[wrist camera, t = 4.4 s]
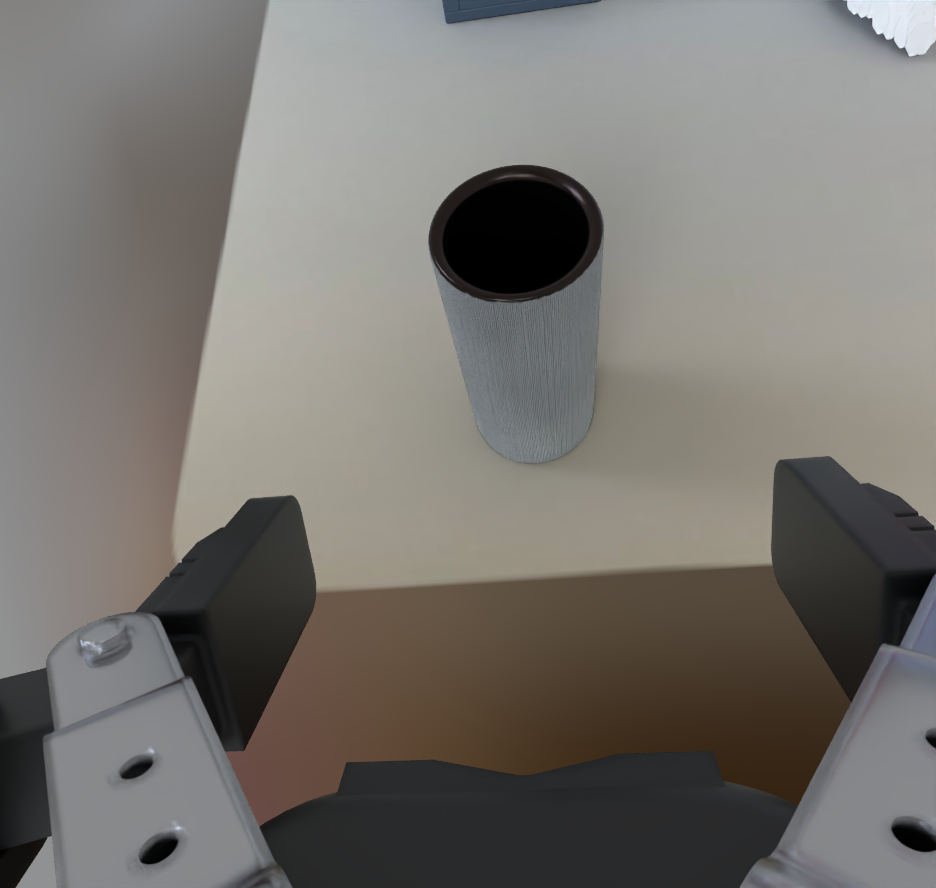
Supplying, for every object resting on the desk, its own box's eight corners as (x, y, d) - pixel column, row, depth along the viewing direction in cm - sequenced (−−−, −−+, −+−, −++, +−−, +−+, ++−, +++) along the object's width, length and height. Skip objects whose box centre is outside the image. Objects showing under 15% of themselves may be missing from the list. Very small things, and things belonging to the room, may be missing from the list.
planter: (451, 415, 28) (391, 238, 19) (531, 340, 29) (512, 136, 20) (536, 488, 26) (516, 334, 17) (618, 406, 27) (641, 218, 18)
